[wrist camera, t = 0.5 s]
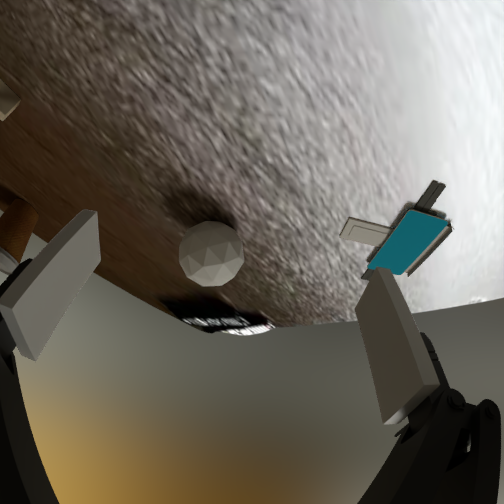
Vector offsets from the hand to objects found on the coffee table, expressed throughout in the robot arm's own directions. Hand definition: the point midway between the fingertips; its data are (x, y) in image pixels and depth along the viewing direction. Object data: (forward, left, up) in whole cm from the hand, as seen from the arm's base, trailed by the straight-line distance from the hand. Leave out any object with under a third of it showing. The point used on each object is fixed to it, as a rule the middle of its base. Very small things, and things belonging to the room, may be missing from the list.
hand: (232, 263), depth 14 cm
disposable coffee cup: (+27, -42, -15) cm, 52 cm away
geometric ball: (+20, -4, -15) cm, 25 cm away
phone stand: (+14, +16, -16) cm, 26 cm away
